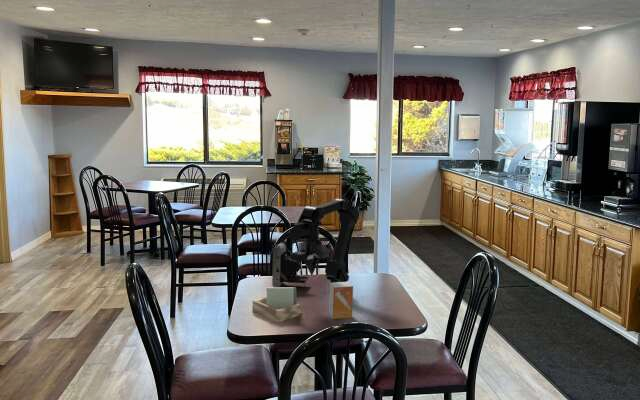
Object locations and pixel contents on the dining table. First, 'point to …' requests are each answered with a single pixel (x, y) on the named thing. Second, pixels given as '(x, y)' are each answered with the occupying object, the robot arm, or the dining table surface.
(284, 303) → the door
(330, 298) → the small box
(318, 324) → the dining table surface
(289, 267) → the vintage camera
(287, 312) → the wooden tray
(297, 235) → the robot arm
